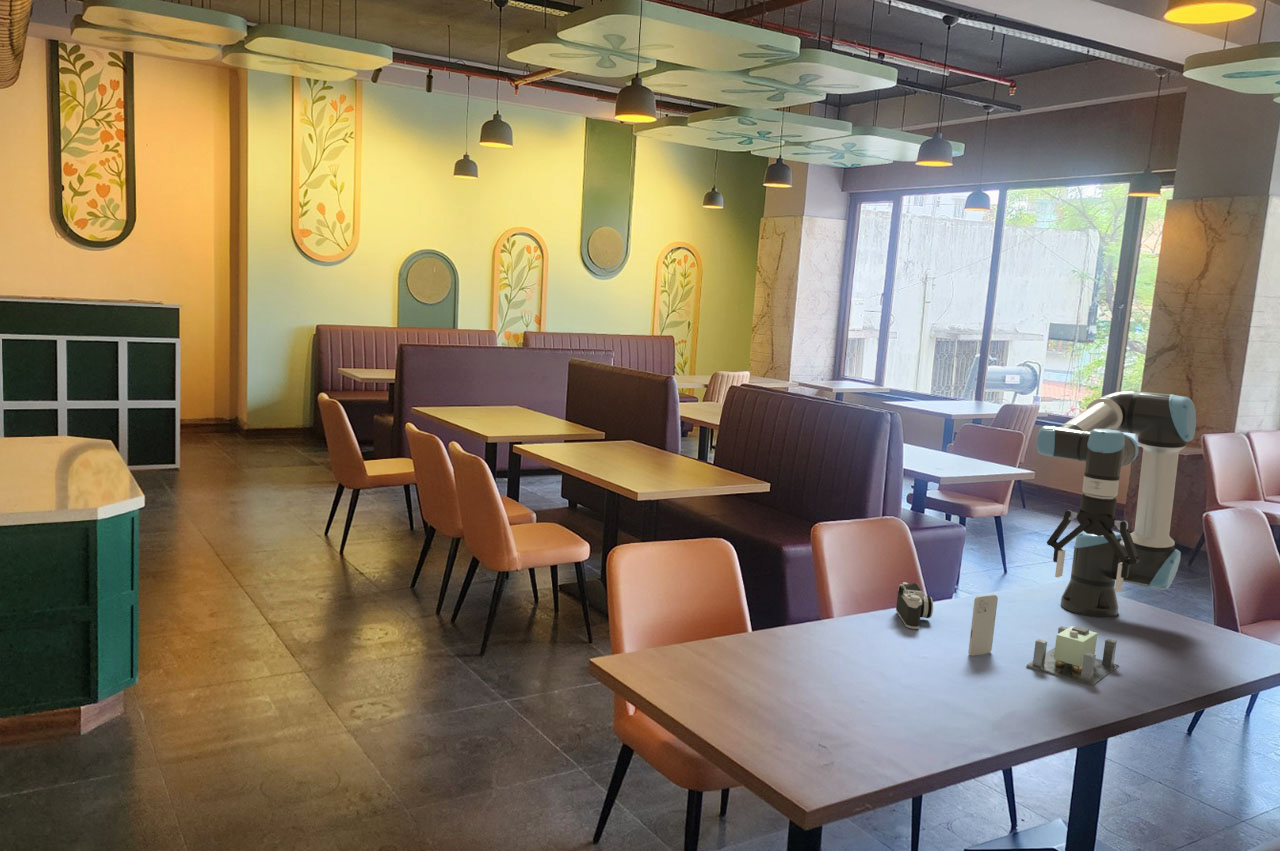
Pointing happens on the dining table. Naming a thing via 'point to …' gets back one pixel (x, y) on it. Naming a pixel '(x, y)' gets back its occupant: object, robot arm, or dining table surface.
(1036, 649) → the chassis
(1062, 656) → the block
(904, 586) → the camera
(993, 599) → the smartphone
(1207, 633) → the dining table surface
